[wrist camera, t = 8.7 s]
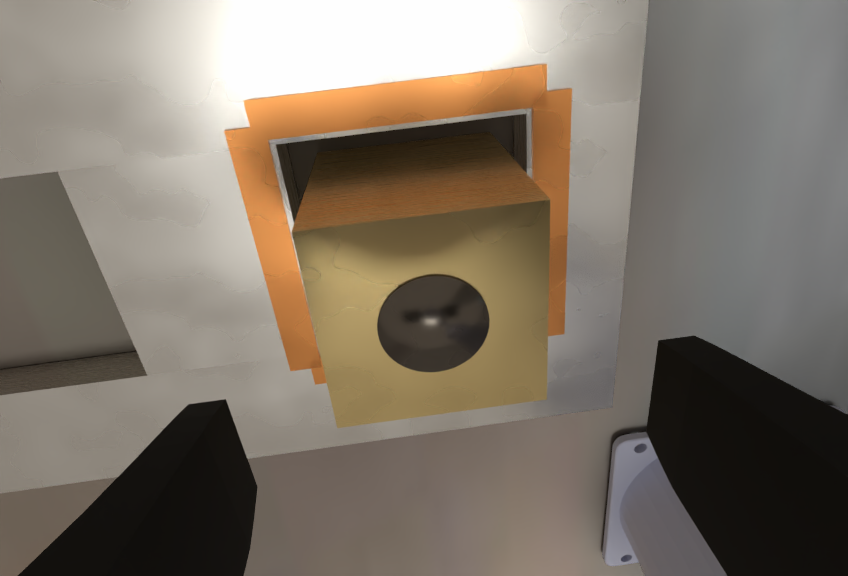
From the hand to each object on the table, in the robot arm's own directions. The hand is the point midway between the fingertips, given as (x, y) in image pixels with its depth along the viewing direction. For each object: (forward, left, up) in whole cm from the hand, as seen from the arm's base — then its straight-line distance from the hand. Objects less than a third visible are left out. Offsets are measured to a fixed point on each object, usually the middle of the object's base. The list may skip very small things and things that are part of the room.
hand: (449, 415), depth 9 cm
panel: (+6, 0, -9) cm, 11 cm away
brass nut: (0, 0, -9) cm, 9 cm away
